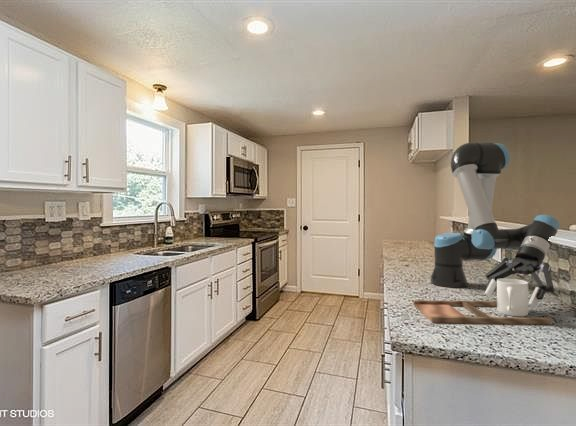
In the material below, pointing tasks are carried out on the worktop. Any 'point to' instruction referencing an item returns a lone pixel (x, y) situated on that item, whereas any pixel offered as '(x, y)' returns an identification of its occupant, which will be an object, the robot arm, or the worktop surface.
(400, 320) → the worktop surface
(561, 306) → the worktop surface
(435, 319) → the flat wooden frame
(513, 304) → the mug
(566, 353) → the worktop surface
